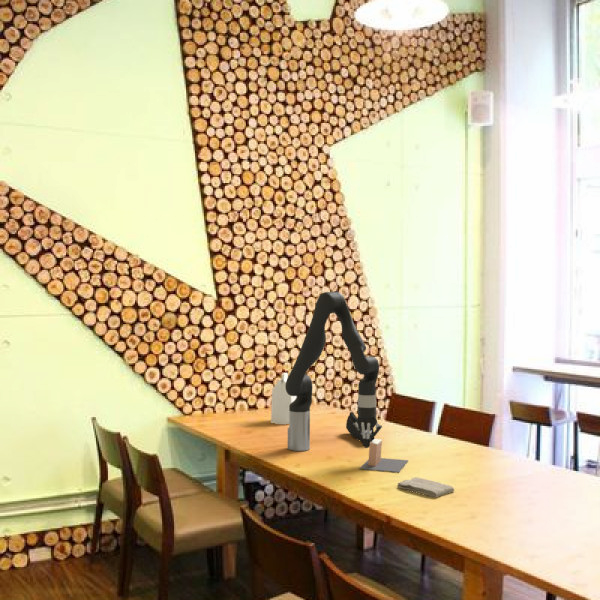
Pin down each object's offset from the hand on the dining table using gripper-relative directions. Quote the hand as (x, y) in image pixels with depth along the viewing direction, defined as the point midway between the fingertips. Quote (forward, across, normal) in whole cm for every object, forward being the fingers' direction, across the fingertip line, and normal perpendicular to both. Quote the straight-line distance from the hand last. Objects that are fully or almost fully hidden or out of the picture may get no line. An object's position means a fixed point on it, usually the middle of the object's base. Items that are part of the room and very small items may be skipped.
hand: (366, 447), depth 301 cm
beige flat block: (+6, +3, 0) cm, 7 cm away
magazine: (+7, -15, +46) cm, 48 cm away
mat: (+7, +7, 0) cm, 10 cm away
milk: (+7, -63, +74) cm, 97 cm away
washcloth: (+8, +29, -30) cm, 42 cm away
